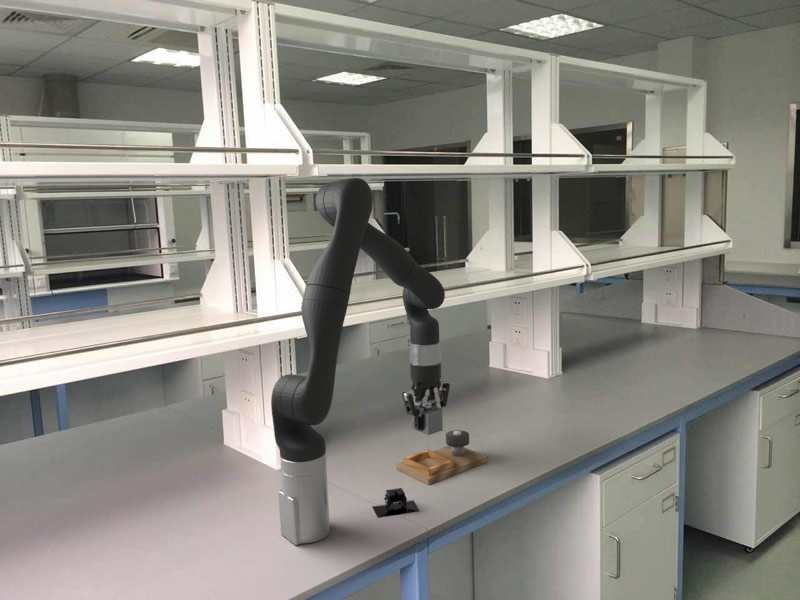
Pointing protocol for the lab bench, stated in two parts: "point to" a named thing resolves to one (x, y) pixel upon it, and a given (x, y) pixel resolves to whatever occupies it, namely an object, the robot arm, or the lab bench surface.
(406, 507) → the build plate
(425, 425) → the grey box with knob
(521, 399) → the lab bench surface
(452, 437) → the wheel
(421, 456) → the wooden base board
